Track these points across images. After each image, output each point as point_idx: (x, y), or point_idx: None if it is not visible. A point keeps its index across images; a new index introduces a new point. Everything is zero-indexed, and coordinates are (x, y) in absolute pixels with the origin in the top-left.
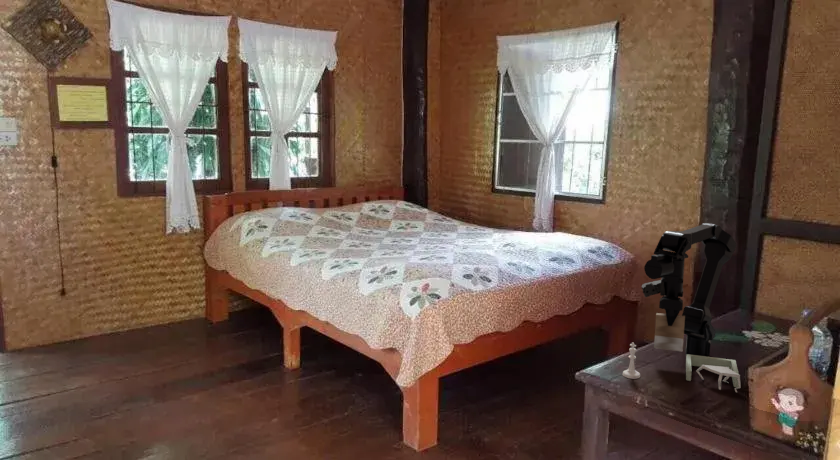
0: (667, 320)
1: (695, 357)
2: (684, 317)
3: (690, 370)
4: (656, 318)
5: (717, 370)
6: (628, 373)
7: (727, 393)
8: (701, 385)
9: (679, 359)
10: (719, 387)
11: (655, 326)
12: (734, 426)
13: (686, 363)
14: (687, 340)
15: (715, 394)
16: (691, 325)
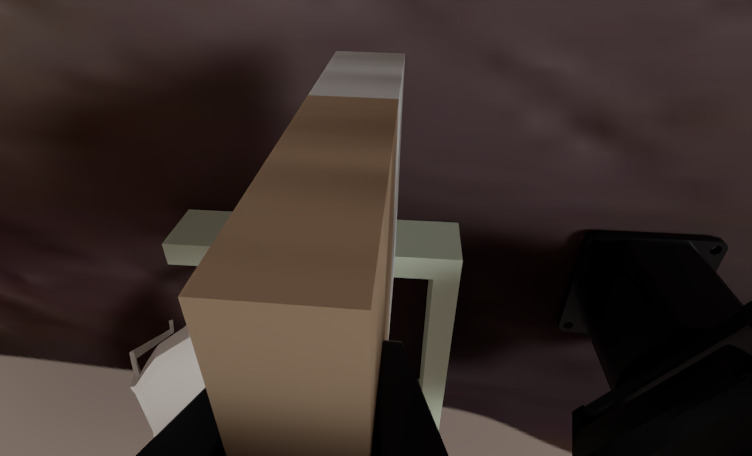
0: (200, 394)
1: (430, 296)
2: None
3: (172, 259)
4: (220, 246)
5: (150, 380)
6: None
7: (144, 340)
8: (166, 265)
9: (524, 193)
10: (170, 326)
11: (274, 151)
12: None
13: None
14: (659, 304)
15: (100, 303)
16: (641, 449)
